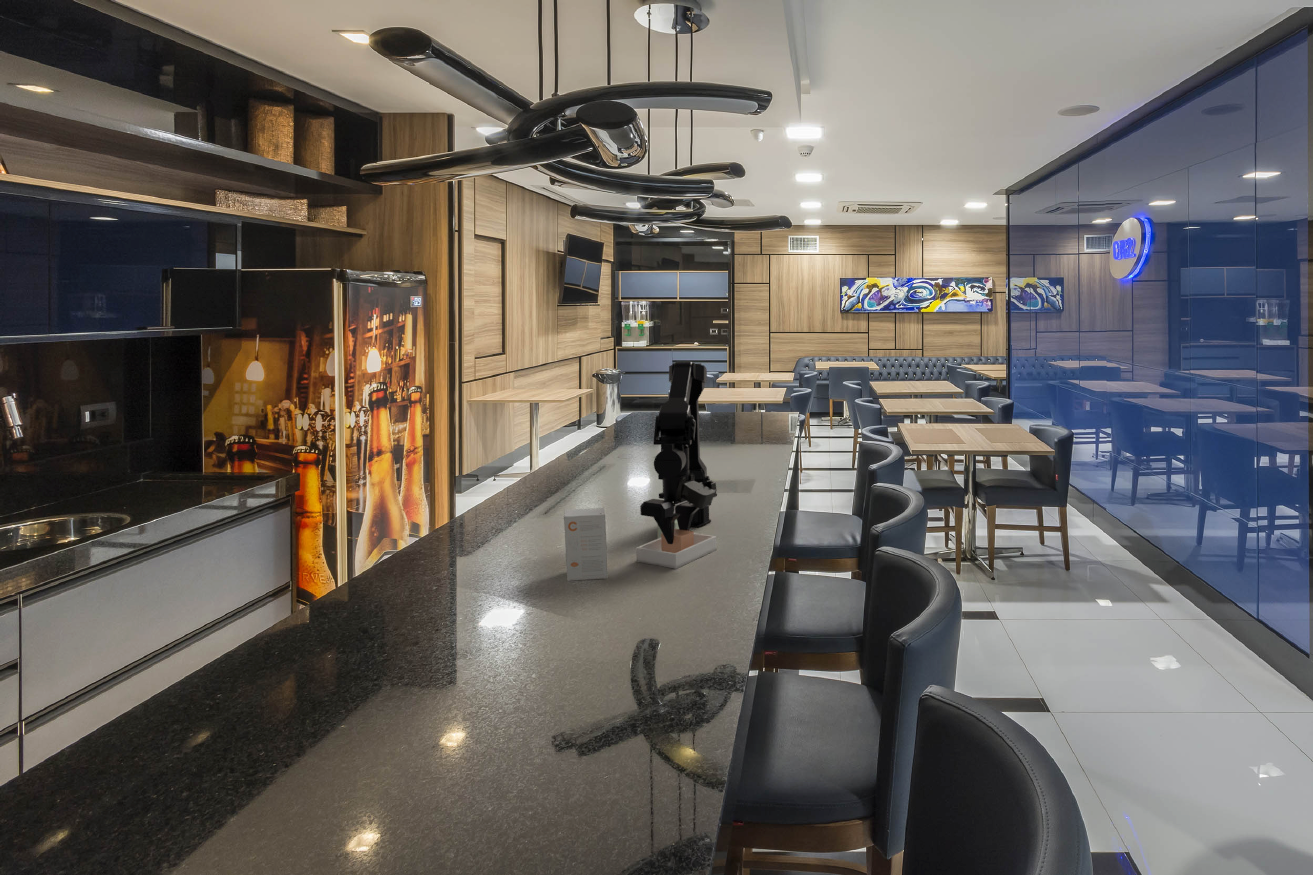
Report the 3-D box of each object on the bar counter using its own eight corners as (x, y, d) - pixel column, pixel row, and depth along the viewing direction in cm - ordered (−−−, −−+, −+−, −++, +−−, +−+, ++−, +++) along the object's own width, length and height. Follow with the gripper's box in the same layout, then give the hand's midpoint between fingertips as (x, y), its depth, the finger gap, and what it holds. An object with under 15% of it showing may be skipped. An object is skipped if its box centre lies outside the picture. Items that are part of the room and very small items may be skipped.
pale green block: (657, 539, 189) (657, 520, 188) (669, 534, 193) (669, 515, 192) (675, 542, 186) (675, 523, 185) (687, 537, 190) (687, 518, 189)
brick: (661, 554, 174) (661, 533, 174) (674, 548, 178) (674, 528, 178) (681, 557, 171) (680, 536, 171) (694, 551, 175) (693, 531, 175)
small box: (606, 569, 166) (604, 506, 164) (608, 579, 160) (605, 514, 158) (566, 571, 166) (564, 508, 164) (566, 581, 159) (563, 516, 157)
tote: (636, 561, 171) (636, 547, 171) (678, 543, 184) (678, 530, 184) (676, 568, 165) (675, 554, 165) (716, 549, 178) (716, 536, 178)
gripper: (683, 480, 160) (685, 557, 162) (731, 465, 175) (732, 535, 177) (637, 475, 166) (639, 549, 169) (687, 461, 182) (688, 529, 184)
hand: (677, 541), depth 174 cm, fingers closed on brick, 5 cm apart
